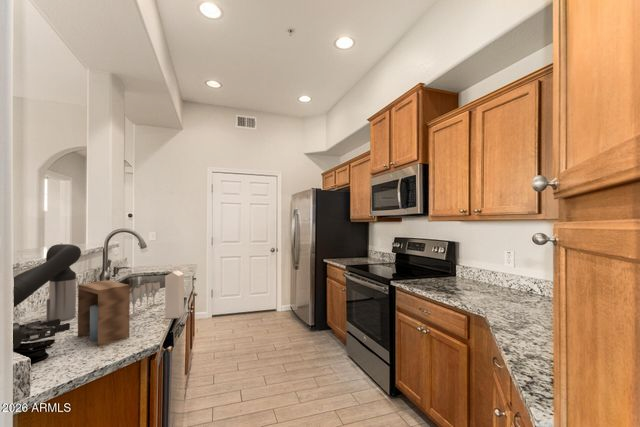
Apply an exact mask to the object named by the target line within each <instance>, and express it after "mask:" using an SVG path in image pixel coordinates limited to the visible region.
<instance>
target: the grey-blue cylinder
mask: <svg viewBox="0 0 640 427" xmlns="http://www.w3.org/2000/svg"><path fill="white" fill-rule="evenodd" d="M89 341H90V342H95V341H96V342H98V304H96V305H92V306H90V334H89Z"/></svg>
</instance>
